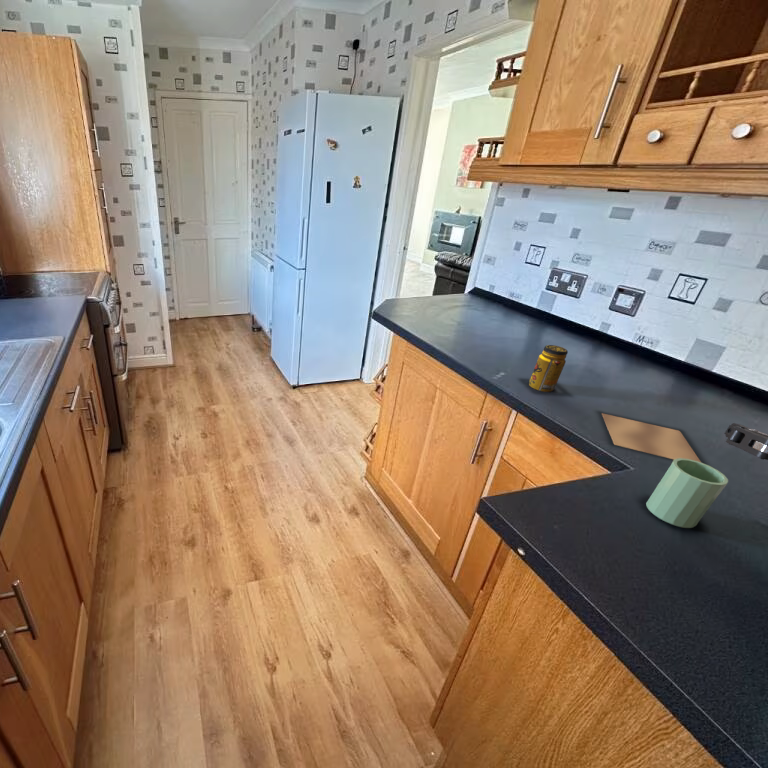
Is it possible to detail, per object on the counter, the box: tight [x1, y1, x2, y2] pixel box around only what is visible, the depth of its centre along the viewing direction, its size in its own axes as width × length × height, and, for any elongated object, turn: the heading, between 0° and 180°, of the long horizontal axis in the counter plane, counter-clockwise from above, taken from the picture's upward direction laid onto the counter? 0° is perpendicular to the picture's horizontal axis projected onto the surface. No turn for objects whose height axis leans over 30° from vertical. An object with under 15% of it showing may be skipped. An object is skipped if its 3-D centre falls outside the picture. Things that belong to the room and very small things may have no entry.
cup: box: [645, 458, 729, 529], centre depth 70 cm, size 7×7×10 cm
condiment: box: [528, 344, 568, 393], centre depth 111 cm, size 7×8×12 cm
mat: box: [601, 412, 702, 463], centre depth 93 cm, size 15×15×1 cm
